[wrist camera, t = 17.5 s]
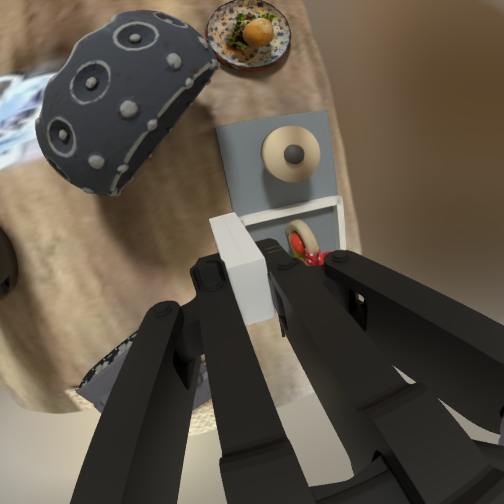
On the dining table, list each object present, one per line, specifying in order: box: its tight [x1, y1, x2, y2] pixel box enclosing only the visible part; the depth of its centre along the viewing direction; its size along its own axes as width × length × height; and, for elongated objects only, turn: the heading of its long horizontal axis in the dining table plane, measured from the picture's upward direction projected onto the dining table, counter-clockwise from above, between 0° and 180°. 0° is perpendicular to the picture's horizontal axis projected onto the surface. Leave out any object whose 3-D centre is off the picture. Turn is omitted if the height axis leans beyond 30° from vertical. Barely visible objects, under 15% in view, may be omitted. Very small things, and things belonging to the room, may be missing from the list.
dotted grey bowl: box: [35, 10, 220, 196], centre depth 25 cm, size 11×20×20 cm, turn 140°
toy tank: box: [75, 331, 211, 414], centre depth 44 cm, size 18×25×15 cm
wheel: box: [260, 126, 320, 182], centre depth 35 cm, size 7×7×3 cm
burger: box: [205, 0, 291, 71], centre depth 30 cm, size 12×12×8 cm
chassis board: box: [215, 110, 346, 257], centre depth 42 cm, size 16×26×4 cm, turn 11°
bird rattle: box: [285, 219, 331, 266], centre depth 41 cm, size 6×11×9 cm
